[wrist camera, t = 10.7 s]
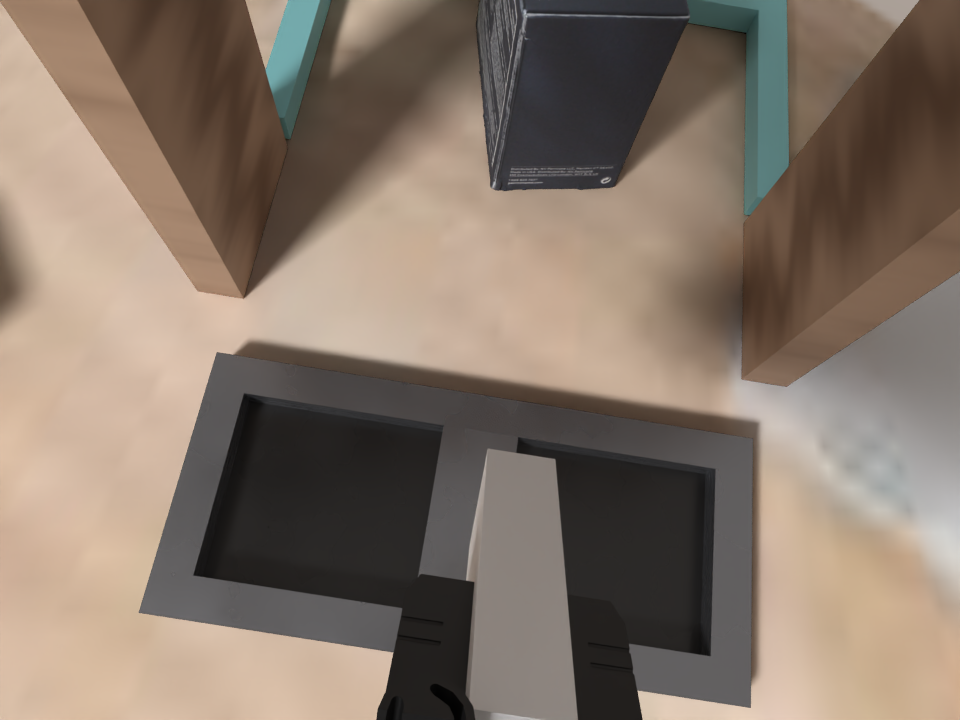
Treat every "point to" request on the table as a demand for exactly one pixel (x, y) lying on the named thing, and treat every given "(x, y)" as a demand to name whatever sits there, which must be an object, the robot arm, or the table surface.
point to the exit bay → (716, 3)
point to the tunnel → (767, 232)
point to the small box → (569, 85)
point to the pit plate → (450, 516)
